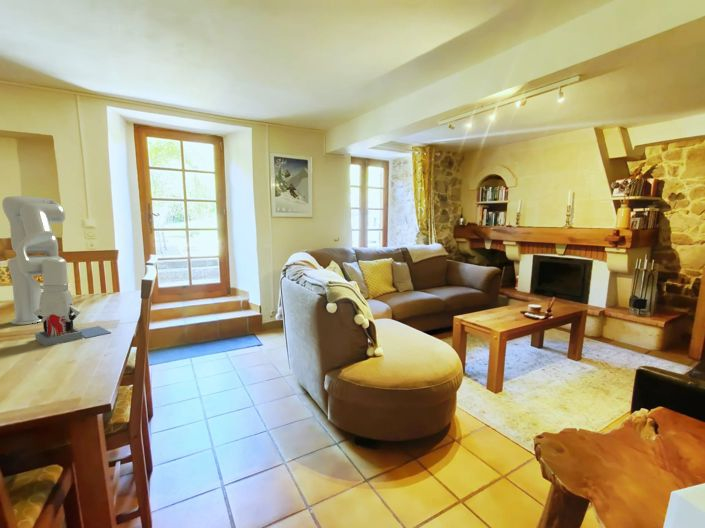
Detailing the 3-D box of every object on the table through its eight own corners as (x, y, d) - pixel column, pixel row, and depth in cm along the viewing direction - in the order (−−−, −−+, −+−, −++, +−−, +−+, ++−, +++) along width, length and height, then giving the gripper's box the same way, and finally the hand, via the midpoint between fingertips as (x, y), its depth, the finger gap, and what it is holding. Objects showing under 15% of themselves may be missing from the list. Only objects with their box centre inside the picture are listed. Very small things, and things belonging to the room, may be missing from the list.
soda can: (57, 342, 132) (55, 313, 131) (43, 341, 134) (41, 312, 132) (75, 337, 139) (73, 309, 138) (61, 335, 141) (59, 308, 139)
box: (35, 339, 135) (35, 332, 135) (72, 332, 145) (72, 325, 145) (44, 346, 128) (43, 339, 128) (82, 338, 138) (82, 331, 138)
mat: (74, 331, 146) (74, 330, 146) (98, 326, 154) (98, 326, 154) (86, 338, 138) (86, 337, 138) (111, 333, 146) (111, 332, 146)
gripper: (23, 290, 129) (27, 334, 131) (74, 290, 132) (76, 332, 134) (38, 286, 136) (41, 328, 138) (85, 286, 139) (87, 327, 141)
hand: (58, 330), depth 136 cm, fingers closed on soda can, 7 cm apart
